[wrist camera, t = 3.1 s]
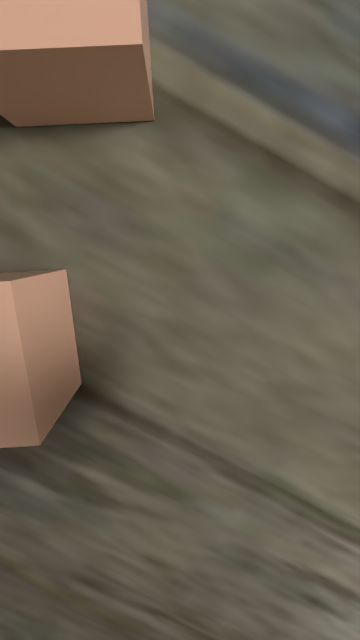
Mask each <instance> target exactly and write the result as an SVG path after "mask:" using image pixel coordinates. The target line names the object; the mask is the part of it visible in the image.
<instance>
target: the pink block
mask: <svg viewBox="0 0 360 640" xmlns="http://www.w3.org/2000/svg"><path fill="white" fill-rule="evenodd" d="M0 115H1V116H3V117H4V118H5V119H7V120H8V121H9V122H11V123H12V124H13V125H14V126H16V127H25V126H47V125H68V124H90V123H111V122H133V121H154V108H153V91H152V75H151V59H150V42H149V26H148V9H147V0H0Z"/></svg>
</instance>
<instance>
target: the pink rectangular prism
mask: <svg viewBox="0 0 360 640" xmlns="http://www.w3.org/2000/svg"><path fill="white" fill-rule="evenodd" d="M81 384H82V383H81V376H80V369H79V361H78V354H77V346H76V339H75V332H74V324H73V317H72V310H71V302H70V295H69V287H68V280H67V273H66V269H60V270H40V271H20V272H0V448H5V447H24V446H40V445H41V443H42V442H43V440H44V439H45V437H46V436H47V434H48V433H49V431H50V430H51V428H52V427H53V425H54V424H55V422H56V421H57V419H58V418H59V416H60V415H61V413H62V412H63V410H64V409H65V407H66V406H67V404H68V403H69V401H70V400H71V399H72V397H73V396H74V394H75V393H76V391H77V390H78V388H79V387H80V385H81Z"/></svg>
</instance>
